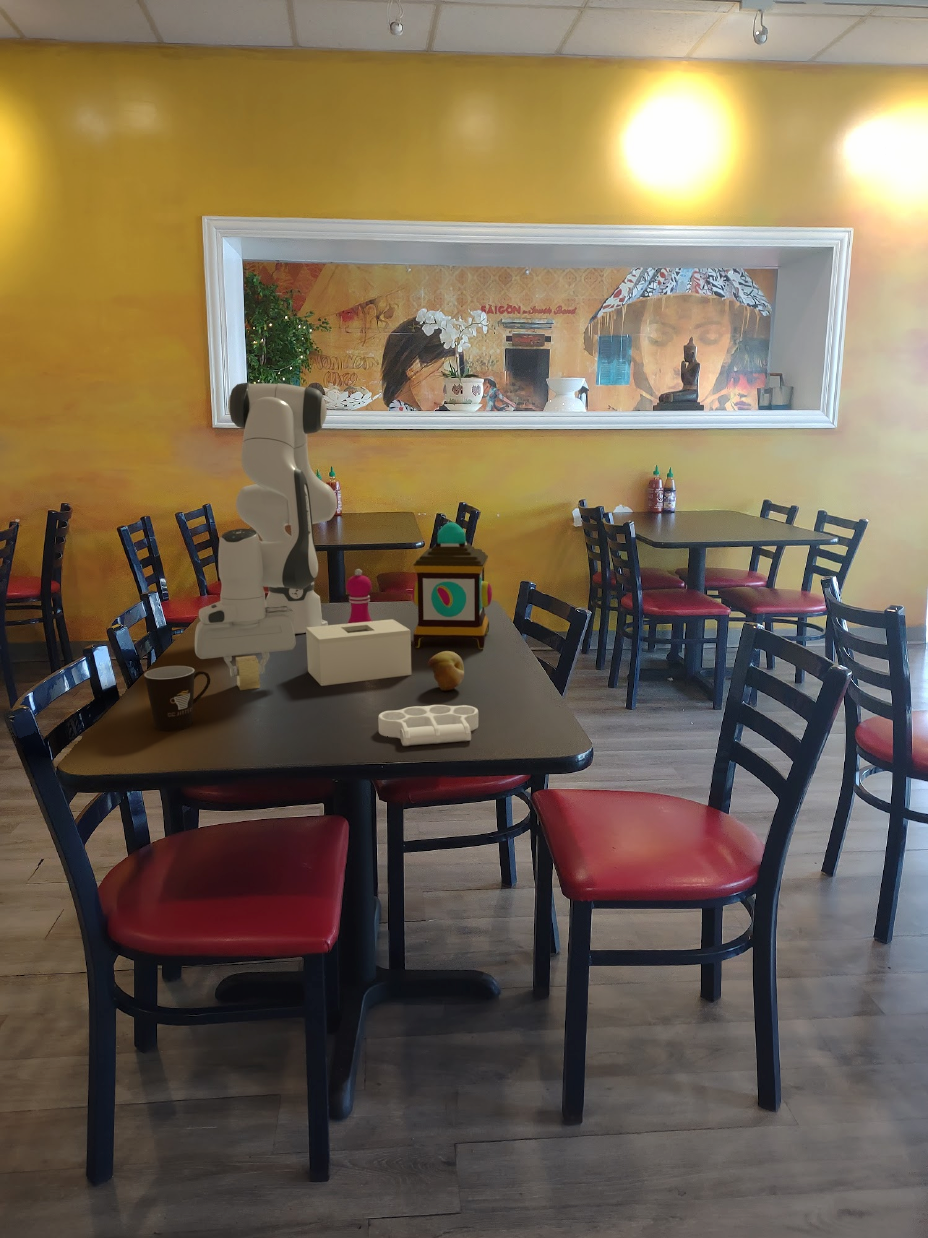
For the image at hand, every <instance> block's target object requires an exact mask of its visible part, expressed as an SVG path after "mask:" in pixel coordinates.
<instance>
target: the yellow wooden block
mask: <svg viewBox="0 0 928 1238" xmlns="http://www.w3.org/2000/svg"><path fill="white" fill-rule="evenodd" d="M259 664H260V663H259V659H258V658H257V656H256V655H246V656H245V655H244V656H236V657H235V666H237V667H238V674H239V676H236V685H237V686H238V689H239V690H240V691H243V690H244V691H246V690H253V689H260V688H261V685H260V683H261V682H260V674H259Z"/></svg>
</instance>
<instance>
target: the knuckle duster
mask: <svg viewBox="0 0 928 1238" xmlns="http://www.w3.org/2000/svg"><path fill="white" fill-rule="evenodd" d="M377 717H378V720H377V721H378V734H380V735H381V736H384V737H387V736H388V738H398V739H400V743H401V745H402V746H403V747H409V746H418V745H431V744H432V745H433V744H444V743H457V742H468V741H471V739H472V732H473V731H475V730H476V729H478V728H479V710H478V708H477V707H475V706H472V705H468V704H467V705H466V704H462V705H447V704H446V705H445V704H432V705H425V706H422V705H421V706H419V705H416V706H409V707H404V708H401V709H396V710H385V711H382V712H381V713H379V714H378V716H377Z"/></svg>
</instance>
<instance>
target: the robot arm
mask: <svg viewBox="0 0 928 1238" xmlns="http://www.w3.org/2000/svg"><path fill="white" fill-rule="evenodd" d="M227 402H228V404H227V407H228V408H227V409H228V413H229V416H230V420H231V423H233V424H234V425H235V426H236V427H238V428H240V429H243V431H244V432H243V435H242V436H243V437H242V444H241V453H240V455H241V457H240V458H241V467H242V470H243V471H244V472H243V473H244V474H245V475H246V476H247V478H248V479H249V480H250V481H252V482H253V484H250V485H245V486H243V487H241V489H240V490H239V492H238V494H237V495H236V499H235V500H236V501H235V507H236V512H237V515H238V516H239V518H240V519H241V520H242V521H243V522H244V523H245V524H247V525H248V526H250V527H251V528H252V529H251V528H235V529H230V530H227V531H226V532H224V533H222V534H221V535H220V537H219V543H218V557H217V559H218V577H219V579H220V583H221V589H220V596H219V597H220V600H219V601H217V602H214V603H212V604H210V605H207V606H203V607H202V608H200V609H198V617H199V622H197V624H196V627H195V632H194V652H195V655H196V657H198V658H199V659H201V660H205V659H214V658H223V660H224V662H225V663H226V665H227V666H228V668H229V674H230V677H231V678H232V677H237V676H239V674H238V667H237V666H236V665H234V666H233V664H232V663H231V662H232V661H233V657H232V656H242V655H243V656H245V655H253V654H261V657H262V658H261V660H260V663H258V664H259V675H260V674H265V673H266V667H265V666H266V664H267V663H268V661H269V659H270V653H272V652H282V651H292V650H293V649H294V648H295V646H296V645H297V644H296V636H295V635H296V634H304V633H305V634H306V627H317V626H327V625H329V624H328V620H324V619H323V615H322V606H321V603H322V602H321V596H320V595H318V594H317V593H316V592H315V591H314V589H315V580H316V579H317V577H318V573H319V562H318V558H317V557H318V555H317V551H316V550H317V549H316V546H315V545H316V544H315V537H314V528H313V525H315V524H320V523H325V522H327V521H330V520H331V519H333V517H334V515H335V514H336V511H337V509H338V499H337V494H336V493H335V491H334V490H333V488H332V487H331V486H330V485H329V484H327V483H326V482H324V481H322V480H321V479H320V478H319V477H318V476H317V475H316V474H315V472H314V471H313V470H312V466H311V463H310V460H309V449H308V434H309V435H310V434H315V433H318V432H319V431H321V429H323V425H324V423H325V421H326V418H327V415H328V414H327V413H328V411H327V404H326V400H325V399H324V395H323V393H322V392H321V391H320V389H319V390H318V389H317V388H313V387H311V386H306V387H303V386H300V385H299V386H298V385H294V384H288V383H265V382H264V383H252V382H242V383H237V384H236V385H235V386H234V387H232V389H231V392H230V395H229V397H228V401H227ZM286 526H290V532H291V535H290V534H289V533H288V532H287V531H286ZM259 536H260V537H259ZM260 538H261V540H262V541H261V540H260ZM264 588H267V591H268V594H267V596H266V595H265V594H266V593H265V589H264Z"/></svg>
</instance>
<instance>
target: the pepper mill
mask: <svg viewBox="0 0 928 1238" xmlns="http://www.w3.org/2000/svg"><path fill="white" fill-rule="evenodd" d="M371 582H372V581H371V579H369V577H367V576H365V575H363V570H361V569H360V568H356V569H355V570H354V575H353V576H351V577H350V578H348V580H347V581H346V584H345V586H346V587H345V588H346V591H347V592H348V594H349V595H348V602H349V603H350V616H349V619H348V622H347V624H348V623H359V622H369V621H373V620H372V618H371V616H370V612H369V602H370V601H371V599H370V598H371V596H370V595H369V593H370V592H371V591H372V583H371Z"/></svg>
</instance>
